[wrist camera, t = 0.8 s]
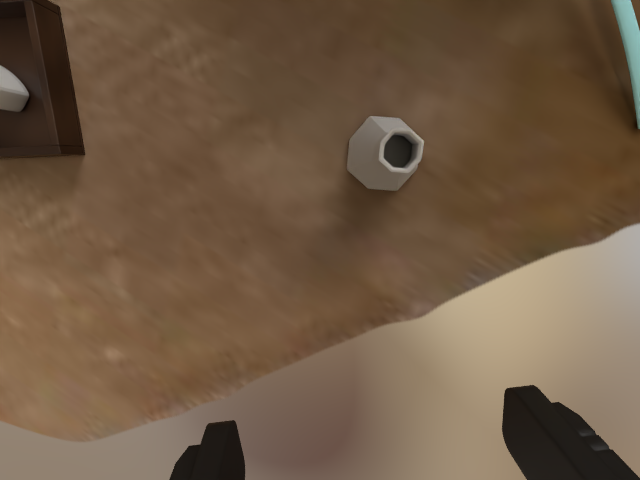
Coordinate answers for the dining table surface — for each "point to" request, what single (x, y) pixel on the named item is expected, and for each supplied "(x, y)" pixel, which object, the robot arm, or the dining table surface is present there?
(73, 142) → the tray
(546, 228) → the dining table surface
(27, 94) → the eye dropper bottle
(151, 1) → the dining table surface
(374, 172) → the flask
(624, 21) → the ladle
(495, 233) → the dining table surface
